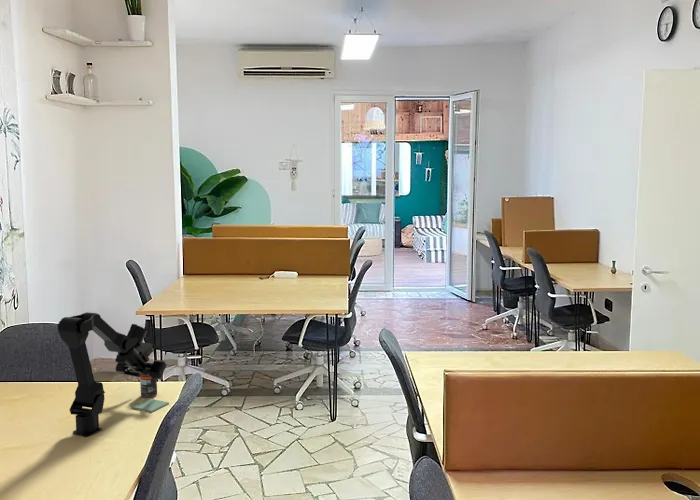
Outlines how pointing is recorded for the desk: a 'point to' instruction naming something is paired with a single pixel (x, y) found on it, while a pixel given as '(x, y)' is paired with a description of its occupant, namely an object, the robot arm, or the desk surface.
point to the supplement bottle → (147, 384)
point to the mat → (150, 405)
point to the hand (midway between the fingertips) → (150, 377)
